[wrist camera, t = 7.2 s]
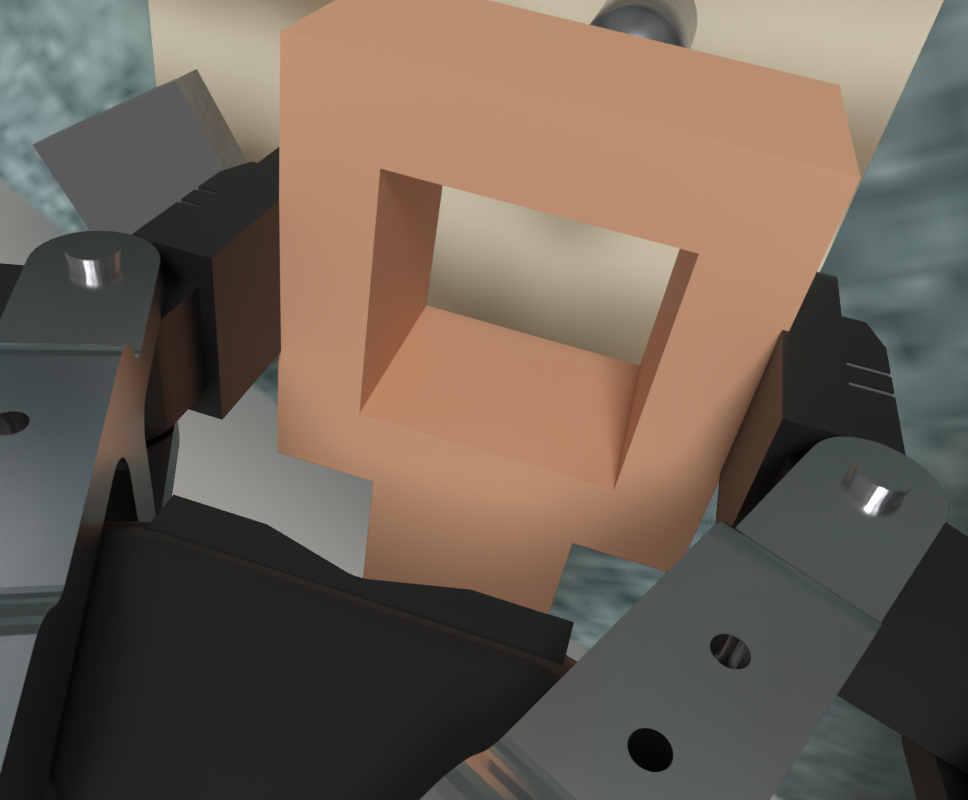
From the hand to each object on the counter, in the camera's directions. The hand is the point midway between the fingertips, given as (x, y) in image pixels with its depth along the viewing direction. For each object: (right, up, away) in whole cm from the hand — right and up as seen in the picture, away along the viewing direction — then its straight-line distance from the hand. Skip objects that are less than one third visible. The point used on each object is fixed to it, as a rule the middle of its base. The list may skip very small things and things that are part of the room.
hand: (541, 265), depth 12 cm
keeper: (-8, +6, +15) cm, 18 cm away
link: (0, -3, +4) cm, 5 cm away
